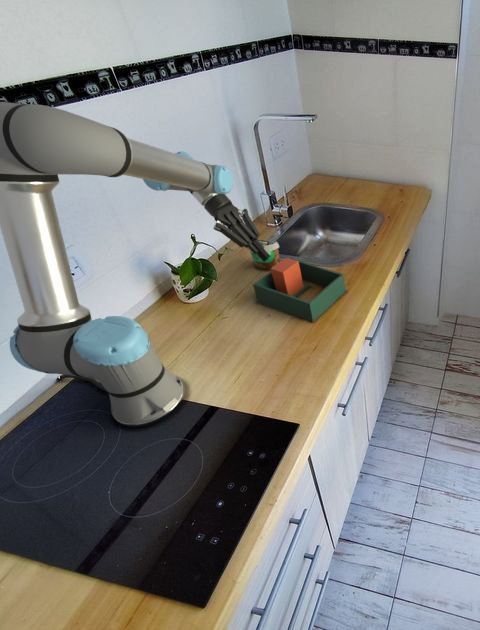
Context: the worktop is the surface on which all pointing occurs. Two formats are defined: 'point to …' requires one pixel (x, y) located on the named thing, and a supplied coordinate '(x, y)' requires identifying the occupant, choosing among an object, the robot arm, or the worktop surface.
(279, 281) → the carton
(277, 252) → the food container
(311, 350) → the worktop surface
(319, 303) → the bin
